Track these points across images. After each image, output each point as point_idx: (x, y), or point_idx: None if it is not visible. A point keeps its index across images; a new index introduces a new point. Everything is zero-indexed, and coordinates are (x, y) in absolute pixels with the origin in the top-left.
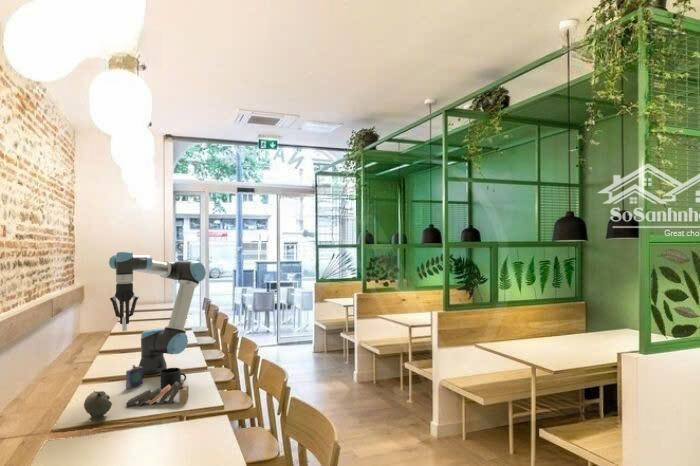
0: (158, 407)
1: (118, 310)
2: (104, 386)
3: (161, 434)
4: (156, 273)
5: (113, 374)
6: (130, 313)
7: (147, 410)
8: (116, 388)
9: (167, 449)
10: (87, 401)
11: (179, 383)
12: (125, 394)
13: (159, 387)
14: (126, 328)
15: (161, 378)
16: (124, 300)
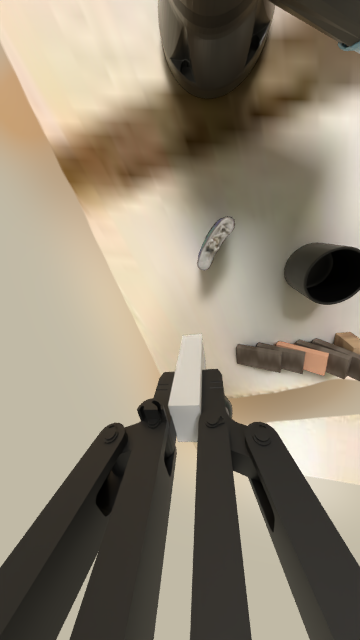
0: None
1: (88, 507)
2: (139, 235)
3: (308, 440)
4: None
5: (96, 97)
6: (263, 495)
7: (276, 376)
8: (175, 254)
9: (317, 464)
10: None
11: (356, 379)
12: (212, 297)
13: (303, 357)
14: (202, 351)
15: (300, 291)
16: None
